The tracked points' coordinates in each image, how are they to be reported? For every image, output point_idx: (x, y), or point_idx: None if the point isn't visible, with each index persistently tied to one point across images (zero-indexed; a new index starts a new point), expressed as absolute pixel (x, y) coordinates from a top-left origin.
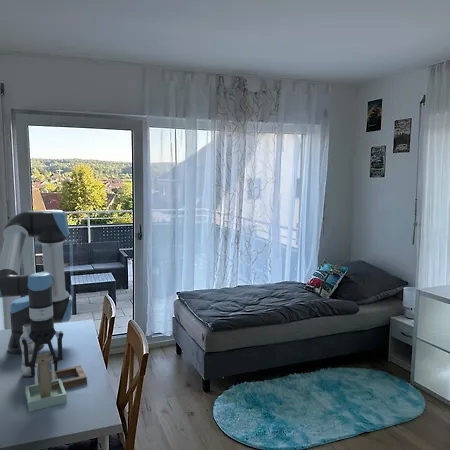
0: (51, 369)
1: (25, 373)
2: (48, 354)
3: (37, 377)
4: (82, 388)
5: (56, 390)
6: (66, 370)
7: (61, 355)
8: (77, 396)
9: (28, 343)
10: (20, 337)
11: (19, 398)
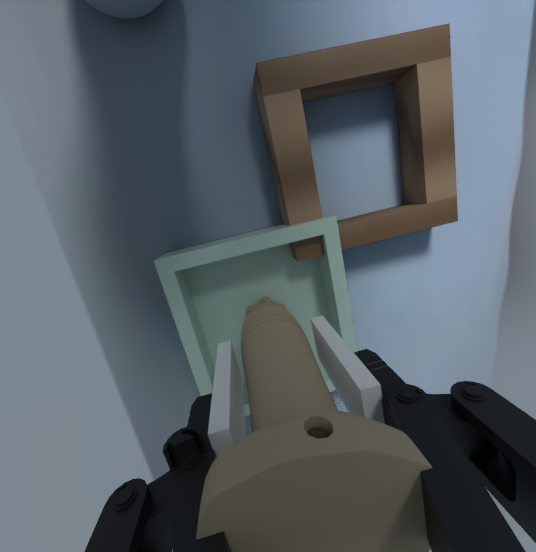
0: (335, 366)
1: (93, 4)
2: (390, 501)
3: (243, 413)
4: (409, 262)
5: (306, 267)
6: (362, 76)
7: (512, 480)
8: (385, 325)
9: None
10: None
11: (145, 281)
